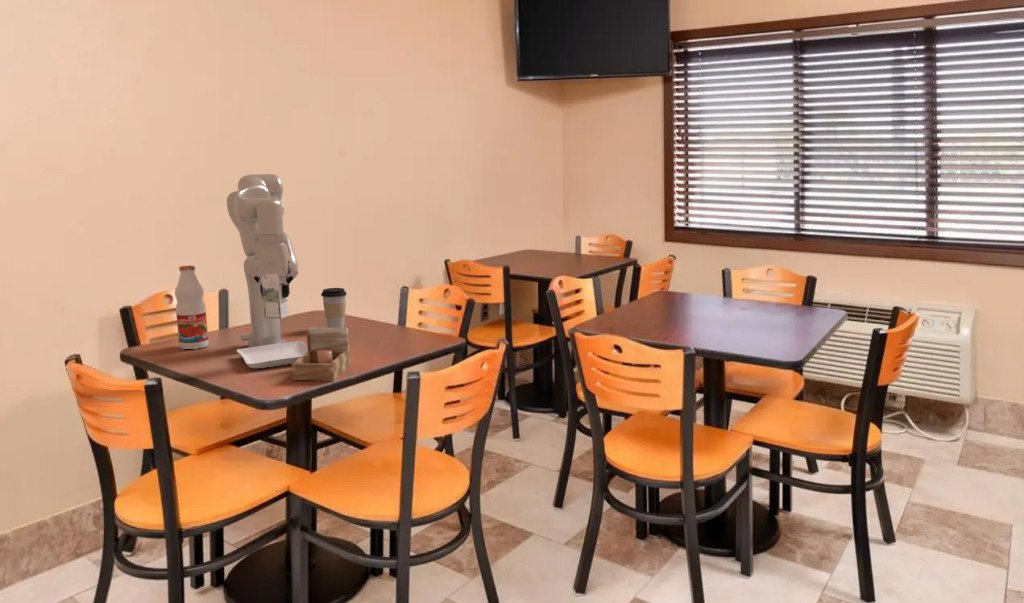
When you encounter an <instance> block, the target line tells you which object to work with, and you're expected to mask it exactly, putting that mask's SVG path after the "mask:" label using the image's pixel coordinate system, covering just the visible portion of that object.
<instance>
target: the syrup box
mask: <svg viewBox="0 0 1024 603" xmlns="http://www.w3.org/2000/svg"><path fill="white" fill-rule="evenodd" d="M282 286H283V281H282V279H281V277H279V274H278V273H276V274H266V276H262V289H263V301H264V314H265V318H280V319H284V318H286V317H288V316H290V313H289V312H290V311H289V302H288V301H289V300H288V298H289V297H286V298H284V297H283V291H282Z"/></svg>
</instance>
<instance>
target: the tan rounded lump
mask: <svg viewBox="0 0 1024 603" xmlns="http://www.w3.org/2000/svg"><path fill="white" fill-rule="evenodd" d="M317 356H318V364H330V363H331V362H333V356H332V350H331V349H322V350H318V351H317Z"/></svg>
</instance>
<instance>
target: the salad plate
mask: <svg viewBox="0 0 1024 603" xmlns="http://www.w3.org/2000/svg"><path fill="white" fill-rule="evenodd" d="M236 352H237V354H238V355H239V356H240V357H242V359H243V362H244V363H245V364H246V366H247V367H248V368H251V369H253V370H254V369H259V368H262V369H267V368H266V367H269V368H275V367H274V366H277V367H283V366H282V365H284V366H289V365H288V364H291V365H292V364H293V363H294V362H295V361H297V360H298V359H299V358H301V357H302V356H303V355H305V354H306V353H307V352H308V346H307V344H306V343H304V342H303V341H302V340H295V341H289V342H287V341H286V343H279V344H271V345H264V346H257V347H251V348H249V347H245V348H238V349H236Z"/></svg>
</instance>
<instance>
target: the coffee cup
mask: <svg viewBox="0 0 1024 603" xmlns="http://www.w3.org/2000/svg"><path fill="white" fill-rule="evenodd" d="M320 296H321V297H322V300H323V302H322V303H323V309H324V316H325V320H326V325H327V326H326V327H327V328H345V317H346V303H347V302H346V296H347V291H346V290H345V288H342V287H329V288H324V289H323V290H322V292H321V293H320Z"/></svg>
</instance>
